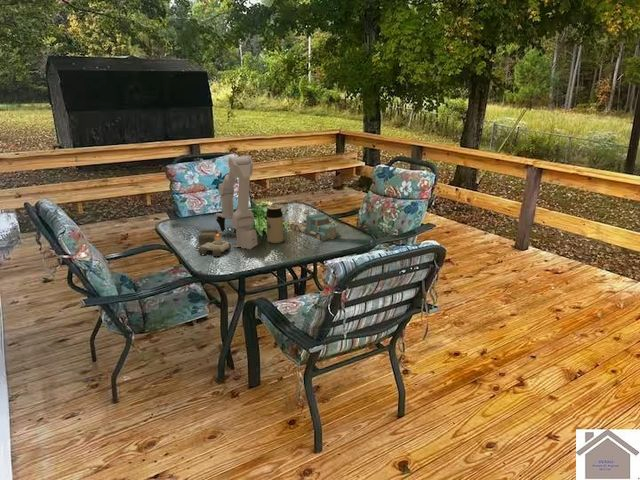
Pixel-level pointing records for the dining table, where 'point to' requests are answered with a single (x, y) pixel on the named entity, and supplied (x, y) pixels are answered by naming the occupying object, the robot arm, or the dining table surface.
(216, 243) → the canister with orange lid
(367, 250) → the dining table surface
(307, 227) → the truck
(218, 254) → the trolley
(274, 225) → the travel mug
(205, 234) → the stone block
